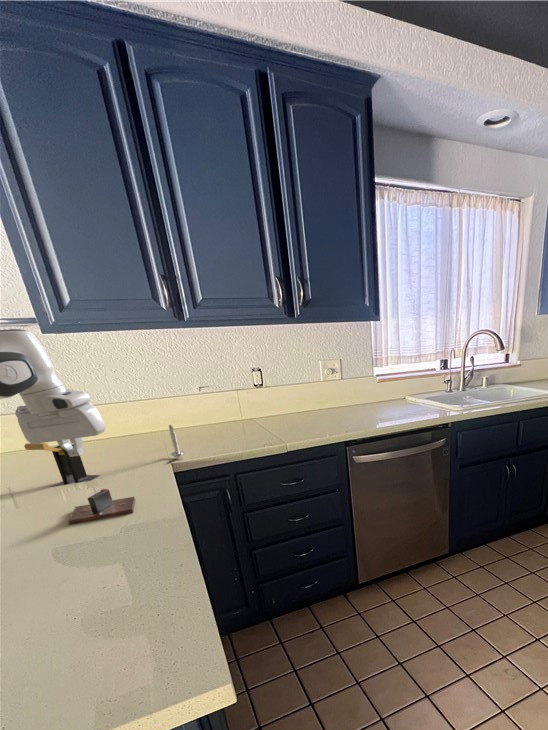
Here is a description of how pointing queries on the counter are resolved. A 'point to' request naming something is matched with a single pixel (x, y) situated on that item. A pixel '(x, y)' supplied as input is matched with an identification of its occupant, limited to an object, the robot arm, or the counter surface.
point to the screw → (175, 445)
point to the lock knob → (100, 500)
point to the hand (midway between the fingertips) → (77, 455)
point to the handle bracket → (71, 469)
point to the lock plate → (102, 511)
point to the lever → (43, 448)
